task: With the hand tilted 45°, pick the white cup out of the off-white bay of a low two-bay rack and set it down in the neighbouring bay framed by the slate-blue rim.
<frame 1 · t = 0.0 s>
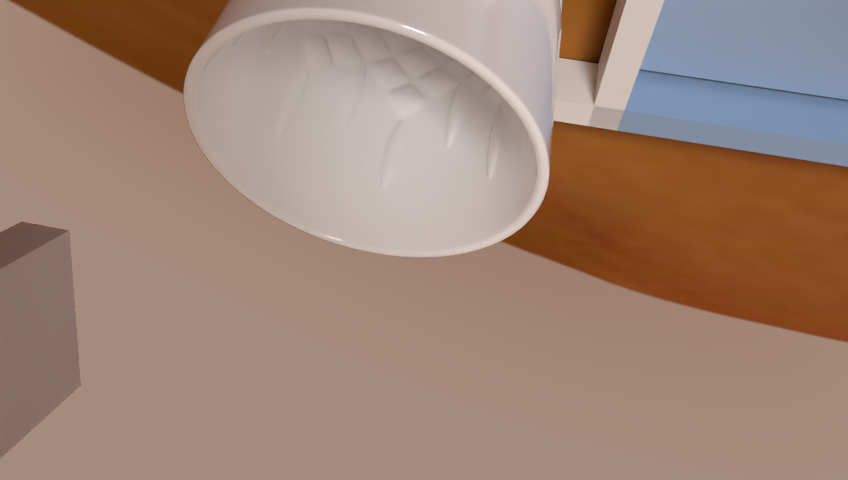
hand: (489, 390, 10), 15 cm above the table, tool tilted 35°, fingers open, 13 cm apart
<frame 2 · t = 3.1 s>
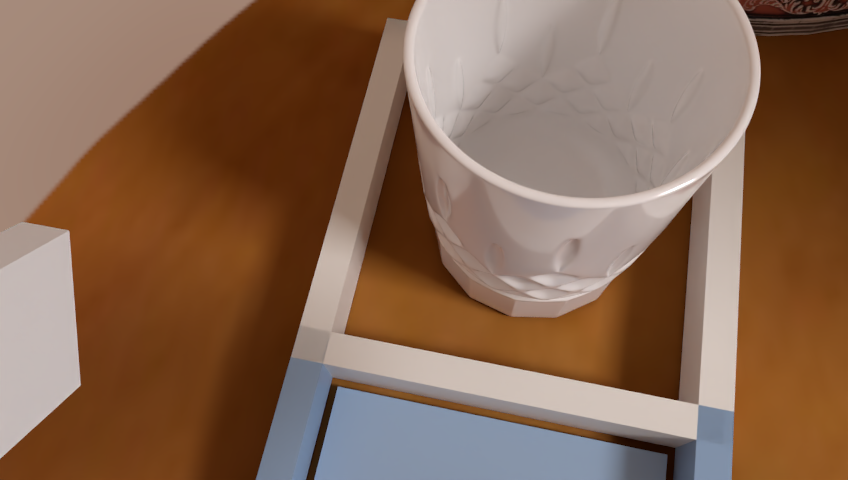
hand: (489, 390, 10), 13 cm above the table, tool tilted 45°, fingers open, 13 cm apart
white cup: (529, 230, 25), resting in bay rack
bay rack: (502, 396, 23), on the table
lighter: (793, 4, 29), on the table
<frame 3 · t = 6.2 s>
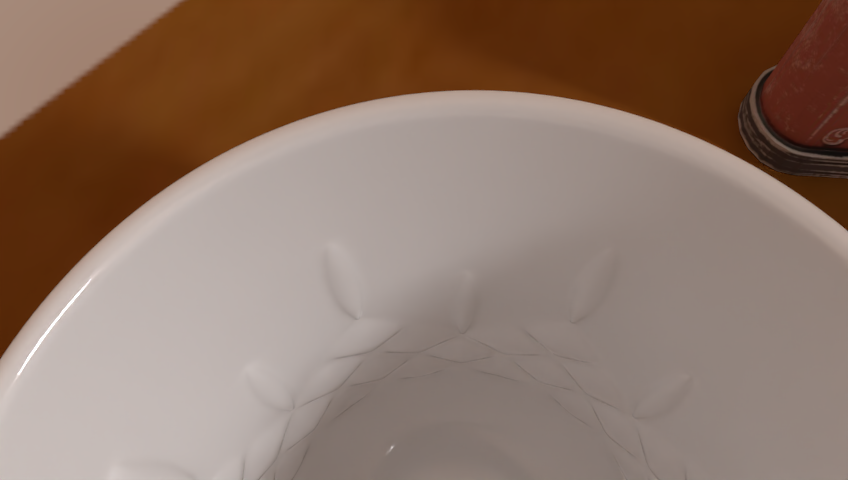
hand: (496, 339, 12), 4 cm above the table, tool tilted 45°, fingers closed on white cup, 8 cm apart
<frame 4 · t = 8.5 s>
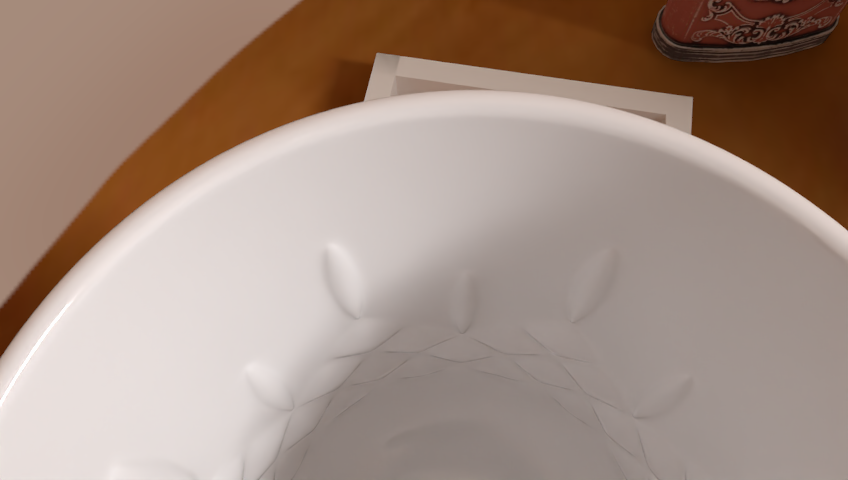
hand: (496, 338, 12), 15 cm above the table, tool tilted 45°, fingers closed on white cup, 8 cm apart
bay rack: (480, 384, 26), on the table
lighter: (738, 33, 32), on the table
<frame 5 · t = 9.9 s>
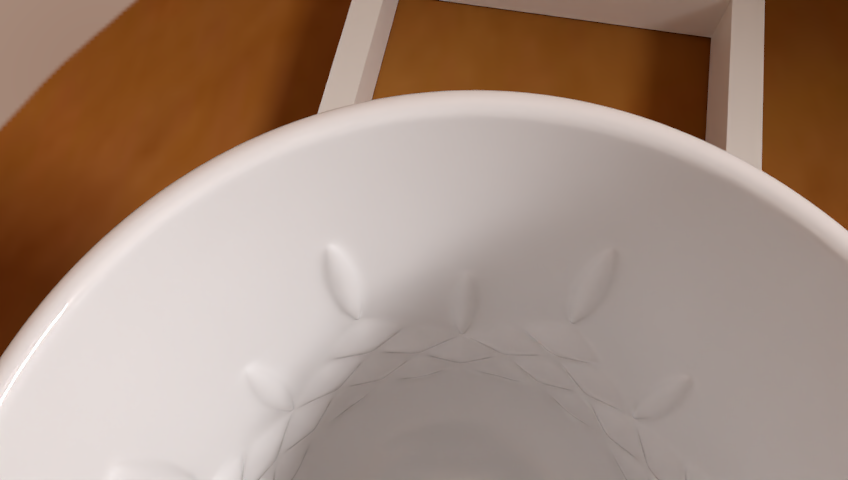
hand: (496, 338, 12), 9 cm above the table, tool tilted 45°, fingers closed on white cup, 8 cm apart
bay rack: (501, 325, 21), on the table
when the fingers open (5 cm above the table, at t = 11.1 s): white cup drops 1 cm, resting on bay rack.
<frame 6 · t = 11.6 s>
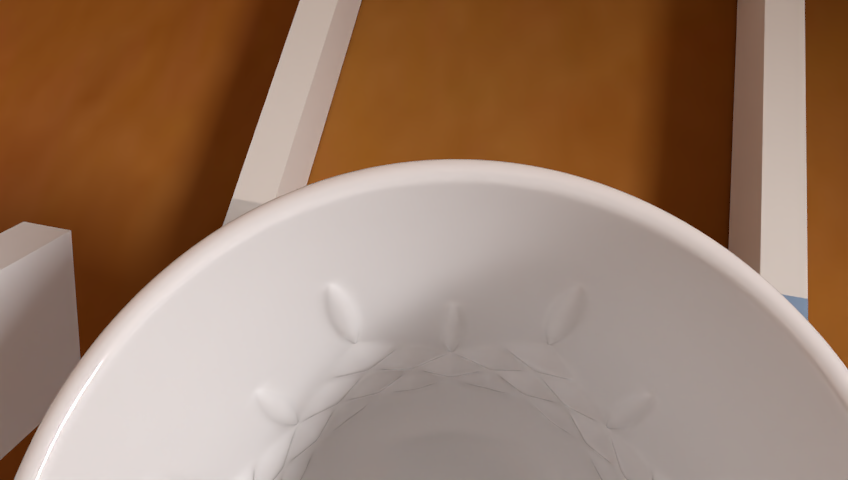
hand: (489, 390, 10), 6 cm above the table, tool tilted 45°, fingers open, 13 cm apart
bay rack: (498, 295, 17), on the table
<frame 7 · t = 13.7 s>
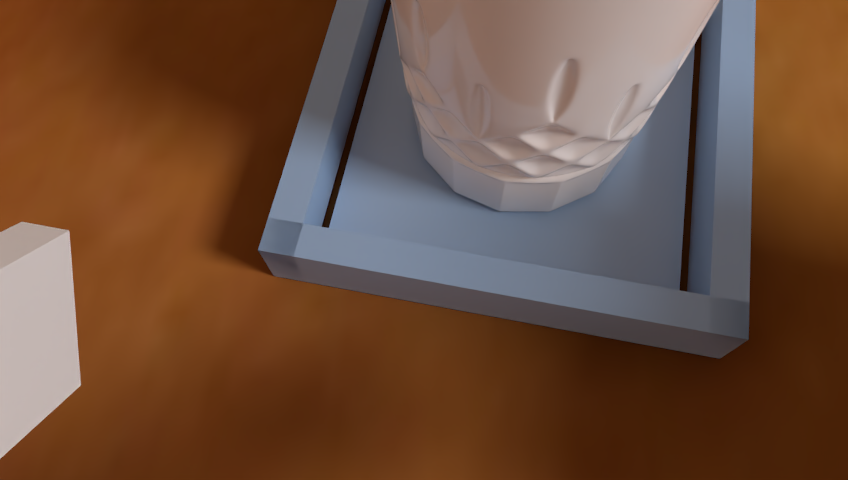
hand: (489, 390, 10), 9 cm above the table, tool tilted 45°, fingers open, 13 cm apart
white cup: (519, 124, 23), resting on bay rack
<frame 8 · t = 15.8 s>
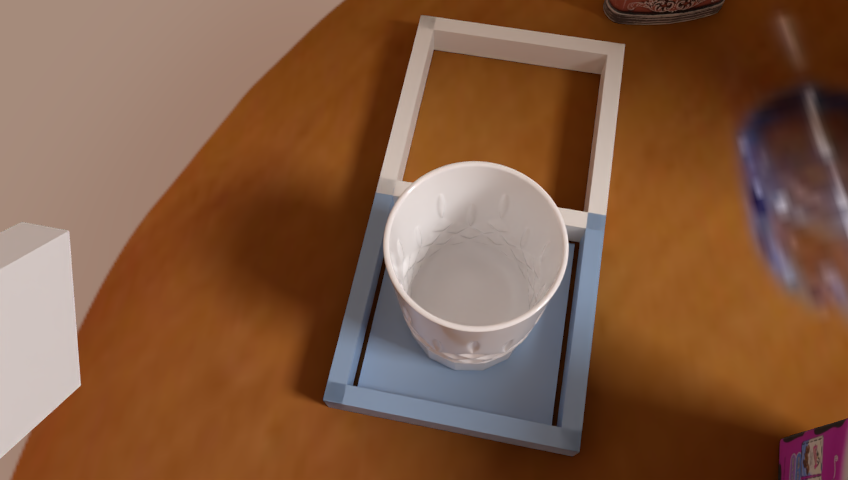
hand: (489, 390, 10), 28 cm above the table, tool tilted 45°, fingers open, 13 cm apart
white cup: (468, 313, 39), resting on bay rack
bay rack: (487, 218, 42), on the table
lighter: (661, 6, 48), on the table
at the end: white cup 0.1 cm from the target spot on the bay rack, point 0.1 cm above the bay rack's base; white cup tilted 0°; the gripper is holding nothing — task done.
